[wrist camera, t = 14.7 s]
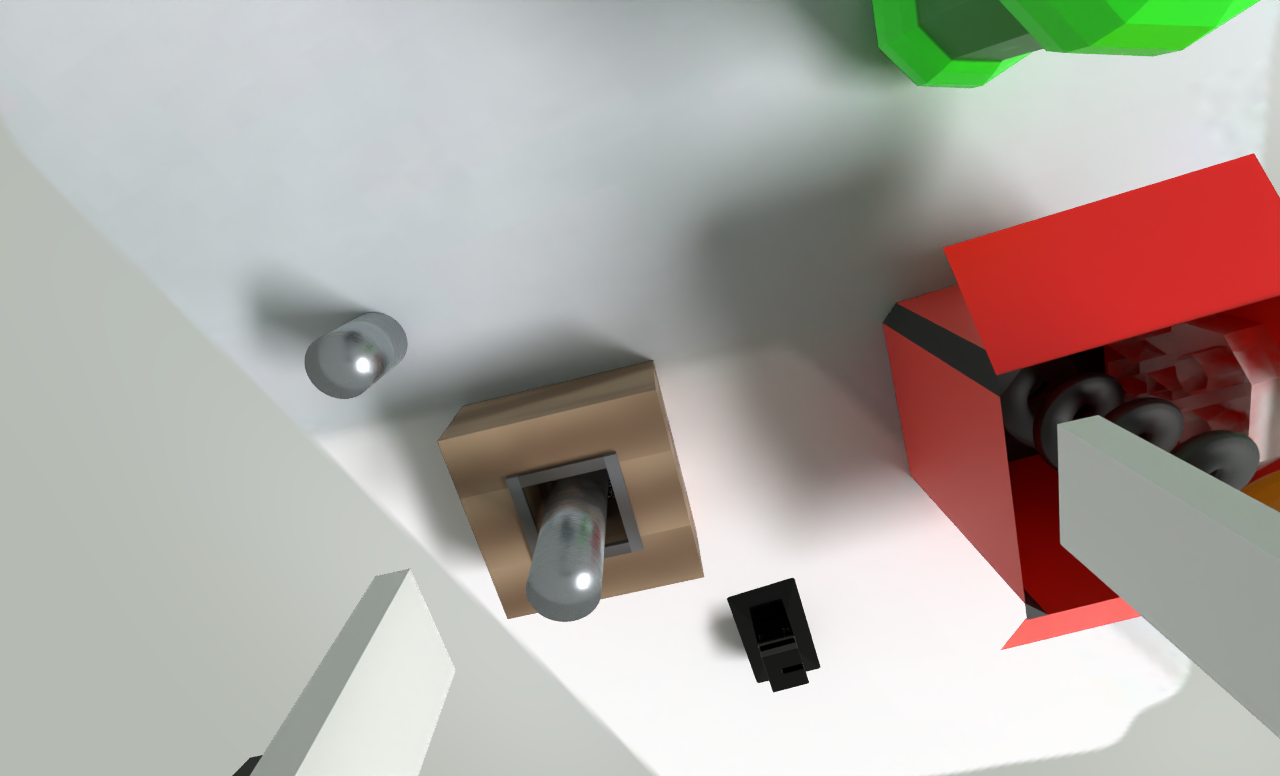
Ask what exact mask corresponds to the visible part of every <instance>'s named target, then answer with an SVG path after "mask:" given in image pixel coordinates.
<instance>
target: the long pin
mask: <svg viewBox="0 0 1280 776" xmlns="http://www.w3.org/2000/svg"><path fill="white" fill-rule="evenodd" d="M608 490H609V474H608V471H607V468H605V469H601V470H597V471H592V472H588V473H583V474H579V475H575V476H570V477H566V478H562V479H557V480H553V481H552V484H551V488H550V492H549V496H548V500H547V504H546V508H545V512H544V515H543V519H542V523H541V527H540V531H539V535H538V539H537V543H536V547H535V551H534V555H533V559H532V563H531V567H530V571H529V575H528V579H527V584H526V595H527V599H528V601H529V603H530V604H531V606H532V607H533V608H534V610H536V611H537V612H538V613H539V614H541V615H542V616H544V617H546V618H548V619H551V620H555V621H562V622H568V621H575V620H578V619H581V618H583V617H585V616H587V615H588V614H590V613H591V612H592V611H593V610H594V609H595V608H596V607H597V605H598V603H599V601H600V598H601V590H602V576H603V561H604V547H605V533H606V518H607V504H608Z"/></svg>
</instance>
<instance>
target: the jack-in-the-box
mask: <svg viewBox="0 0 1280 776" xmlns="http://www.w3.org/2000/svg"><path fill="white" fill-rule="evenodd" d="M943 249H944V252H945V254H946V256H947V259H948V261H949V264H950V266H951V268H952V271H953V273H954V275H955V278H956V280H957V283H958V285H955V286H952V287H948V288H945V289H941V290H938V291H935V292H931V293H928V294H925V295H921V296H918V297H915V298H911V299H908V300H904V301H901V302H898V303H896V304H895V305H894V307H893V308H892V310H891V311H890V313H889V314H888V316H887V317H886V319H885V320H884V322H883V328H884V333H885V338H886V344H887V349H888V355H889V360H890V366H891V371H892V377H893V382H894V388H895V393H896V399H897V404H898V409H899V415H900V420H901V426H902V431H903V437H904V442H905V448H906V453H907V459H908V464H909V470H910V475H911V476H912V478H913V479H914V480H915V481H916V482H917V483H918V484H919V485H920V487H921V488H922V489H923V490H924V491H925V492H926V493H927V494H928V496H929V497H930V498H931V499H932V500H933V501H934V502H935V503H936V504H937V506H938V507H939V508H940V509H941V510H942V511H943V512H944V513H945V515H946V516H947V517H948V518H949V519H950V520H951V521H952V522H953V523H954V525H955V526H956V527H957V528H958V529H959V530H960V531H961V532H962V534H963V535H964V536H965V537H966V538H967V539H968V540H969V541H970V543H971V544H972V545H973V546H974V547H975V548H976V549H977V550H978V551H979V553H980V554H981V555H982V556H983V557H984V558H985V559H986V560H987V562H988V563H989V564H990V565H991V566H992V567H993V568H994V569H995V570H996V572H997V573H998V574H999V575H1000V576H1001V577H1002V578H1003V579H1004V581H1005V582H1006V583H1007V584H1008V585H1009V586H1010V587H1011V588H1012V590H1013V591H1014V592H1015V593H1016V594H1017V595H1018V596H1019V597H1020V598H1021V600H1022V601H1023V602H1024V603H1025V606H1026V614H1027V618H1026V619H1025V620H1024V622H1023V623H1022V624H1021V625H1020V627H1019V628H1018V629H1017V630H1016V632H1015V633H1014V634H1013V635H1012V637H1011V638H1010V639H1009V640H1008V642H1007V643H1006V644H1005V645H1004V647H1003V648H1002V649H1001V650H1003V649H1007V648H1011V647H1015V646H1019V645H1024V644H1028V643H1032V642H1036V641H1040V640H1044V639H1048V638H1052V637H1057V636H1061V635H1065V634H1069V633H1073V632H1077V631H1081V630H1085V629H1090V628H1094V627H1098V626H1102V625H1106V624H1110V623H1114V622H1119V621H1123V620H1127V619H1131V618H1135V617H1139V616H1141V615H1140V614H1139V613H1138V612H1136V611H1135V610H1134V609H1133V608H1132V607H1131V606H1130V605H1129V604H1127V603H1126V602H1125V601H1124V600H1123V599H1122V598H1121V597H1120V596H1118V595H1117V594H1116V593H1115V592H1114V591H1113V590H1112V589H1111V588H1109V587H1108V586H1107V585H1106V584H1105V583H1104V582H1103V581H1101V580H1100V579H1099V578H1098V577H1097V576H1096V575H1095V574H1094V573H1092V572H1091V571H1090V570H1089V569H1088V568H1087V567H1086V566H1085V565H1083V564H1082V563H1081V562H1080V561H1079V560H1078V559H1077V558H1076V557H1074V556H1073V555H1072V554H1071V553H1070V552H1069V551H1068V550H1067V549H1065V548H1064V547H1063V546H1062V545H1061V544H1060V515H1059V474H1058V434H1057V424H1060V423H1065V422H1069V421H1074V420H1078V419H1083V418H1087V417H1092V416H1096V415H1099V416H1101V417H1103V418H1105V419H1107V420H1108V421H1110V422H1112V423H1114V424H1116V425H1118V426H1120V427H1121V428H1123V429H1125V430H1127V431H1129V432H1131V433H1133V434H1135V435H1136V436H1138V437H1140V438H1142V439H1144V440H1146V441H1148V442H1149V443H1151V444H1153V445H1155V446H1157V447H1159V448H1161V449H1162V450H1164V451H1166V452H1168V453H1170V454H1172V455H1174V456H1176V457H1177V458H1179V459H1181V460H1183V461H1185V462H1187V463H1189V464H1190V465H1192V466H1194V467H1196V468H1198V469H1200V470H1202V471H1203V472H1205V473H1207V474H1209V475H1211V476H1213V477H1215V478H1217V479H1218V480H1220V481H1222V482H1224V483H1226V484H1228V485H1230V486H1231V487H1233V488H1235V489H1237V490H1239V491H1241V492H1243V493H1244V494H1246V495H1248V496H1250V497H1252V498H1254V499H1256V500H1258V501H1259V502H1261V503H1263V504H1265V505H1267V506H1269V507H1271V508H1272V509H1274V510H1276V511H1278V512H1280V197H1279V196H1278V194H1277V192H1276V191H1275V189H1274V187H1273V185H1272V184H1271V182H1270V180H1269V179H1268V177H1267V175H1266V173H1265V172H1264V170H1263V168H1262V166H1261V165H1260V163H1259V161H1258V159H1257V158H1256V156H1255V154H1250V155H1247V156H1244V157H1240V158H1237V159H1234V160H1231V161H1227V162H1224V163H1221V164H1217V165H1214V166H1211V167H1208V168H1204V169H1201V170H1198V171H1194V172H1191V173H1188V174H1184V175H1181V176H1178V177H1175V178H1171V179H1168V180H1165V181H1161V182H1158V183H1155V184H1152V185H1148V186H1145V187H1142V188H1138V189H1135V190H1132V191H1129V192H1125V193H1122V194H1119V195H1115V196H1112V197H1109V198H1105V199H1102V200H1099V201H1096V202H1092V203H1089V204H1086V205H1082V206H1079V207H1076V208H1073V209H1069V210H1066V211H1063V212H1059V213H1056V214H1053V215H1050V216H1046V217H1043V218H1040V219H1036V220H1033V221H1030V222H1026V223H1023V224H1020V225H1017V226H1013V227H1010V228H1007V229H1003V230H1000V231H997V232H994V233H990V234H987V235H984V236H980V237H977V238H974V239H971V240H967V241H964V242H961V243H957V244H954V245H951V246H947V247H944V248H943Z"/></svg>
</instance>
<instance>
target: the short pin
mask: <svg viewBox="0 0 1280 776" xmlns="http://www.w3.org/2000/svg"><path fill="white" fill-rule="evenodd" d="M406 350H407V337H406V334H405V332H404V330H403V328H402V327H401V325H400V324H399V323H398V322H397V321H396V320H394V319H393V318H392V317H390V316H388V315H386V314H383V313H378V312H369V313H365V314H363V315H361V316H359V317H357V318H355V319H353V320H351V321H349V322H348V323H346V324H344V325H342V326H340V327H339V328H337V329H335V330H333V331H331V332H329V333H328V334H326V335H324V336H322V337H320V338H318V339H317V340H315V341H314V342H313V343H312V344H311V345H310V346H309V348H308V350H307V352H306V355H305V369H306V372H307V375H308V377H309V379H310V380H311V382H312V383H313V384H314V385H315V386H316V387H317V388H318V389H319V390H320V391H322V392H323V393H325V394H327V395H329V396H331V397H335V398H340V399H348V398H353V397H356V396H358V395H360V394H362V393H363V392H364V391H366V390H367V389H368V388H369V387H370V386H372V385H373V384H374V383H375V382H376V381H377V380H379V379H380V378H381V377H382V376H383V375H385V374H386V373H387V372H388V371H389V370H391V369H392V368H393V367H394V366H395V365H397V364H398V363H399V362H400V361H401V360H402V359H403V357H404V356H405V353H406Z"/></svg>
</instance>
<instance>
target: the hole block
mask: <svg viewBox="0 0 1280 776" xmlns="http://www.w3.org/2000/svg"><path fill="white" fill-rule="evenodd" d="M437 442H438V444H439V447H440V449H441V452H442V455H443V457H444V460H445V462H446V465H447V467H448V470H449V472H450V475H451V477H452V480H453V482H454V485H455V487H456V490H457V492H458V495H459V497H460V500H461V502H462V505H463V508H464V510H465V513H466V515H467V518H468V520H469V523H470V525H471V528H472V530H473V533H474V535H475V538H476V540H477V543H478V545H479V548H480V550H481V553H482V555H483V558H484V561H485V563H486V566H487V568H488V571H489V573H490V576H491V578H492V581H493V583H494V586H495V588H496V591H497V593H498V596H499V598H500V601H501V603H502V606H503V608H504V611H505V614H506V616H507V619H511V618H515V617H520V616H525V615H529V614H534V613H538V612H537V611H536V610H534V608H533V607H532V606H531V604H530V603H529V601H528V599H527V595H526V584H527V579H528V575H529V571H530V567H531V563H532V559H533V555H534V551H535V547H536V543H537V539H538V535H539V531H540V527H541V523H542V519H543V515H544V512H545V508H546V504H547V500H548V496H549V492H550V488H551V487H550V484H549V481H553V480H557V479H562V478H566V477H570V476H575V475H579V474H583V473H588V472H592V471H597V470H601V469H605V468H607V471H608V474H609V478H610V481H611V484H612V488H613V491H614V494H615V497H614V498H609V499H608V504H607V518H606V533H605V547H604V561H603V576H602V590H601V598H600V599H604V598H609V597H613V596H618V595H623V594H627V593H632V592H637V591H641V590H646V589H651V588H655V587H660V586H665V585H669V584H674V583H679V582H683V581H688V580H693V579H697V578H702V577H704V574H703V568H702V562H701V556H700V550H699V544H698V538H697V533H696V527H695V523H694V519H693V516H692V512H691V508H690V504H689V500H688V496H687V492H686V488H685V484H684V480H683V476H682V472H681V468H680V465H679V461H678V457H677V453H676V449H675V445H674V441H673V437H672V433H671V429H670V425H669V421H668V417H667V413H666V410H665V406H664V402H663V398H662V394H661V390H660V386H659V382H658V378H657V374H656V370H655V366H654V362H653V360H652V361H648V362H644V363H640V364H636V365H631V366H627V367H623V368H619V369H615V370H611V371H607V372H602V373H598V374H594V375H590V376H586V377H582V378H578V379H574V380H569V381H565V382H561V383H557V384H553V385H549V386H545V387H540V388H536V389H532V390H528V391H524V392H520V393H516V394H512V395H507V396H503V397H499V398H495V399H491V400H487V401H483V402H478V403H474V404H470V405H466V406H462V408H461V409H460V410H459V412H458V413H457V415H456V416H455V417H454V419H453V420H452V422H451V423H450V424H449V426H448V427H447V429H446V430H445V431H444V433H443V434H442V436H441V437H440V439H439V440H438V441H437Z"/></svg>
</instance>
